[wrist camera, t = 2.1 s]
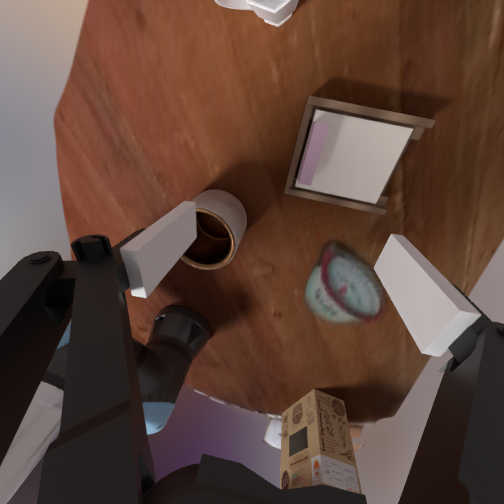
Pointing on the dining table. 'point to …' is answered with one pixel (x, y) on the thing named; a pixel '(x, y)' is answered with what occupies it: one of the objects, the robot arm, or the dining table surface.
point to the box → (317, 445)
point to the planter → (216, 230)
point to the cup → (265, 8)
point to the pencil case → (359, 112)
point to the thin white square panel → (350, 156)
